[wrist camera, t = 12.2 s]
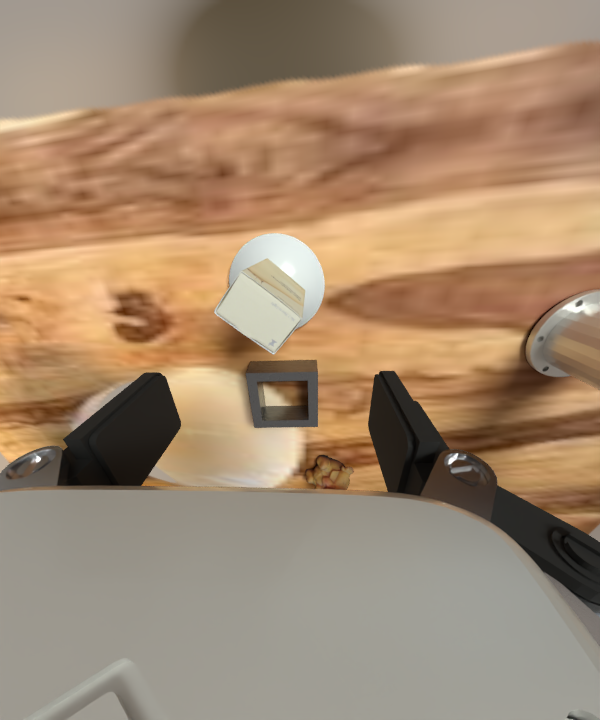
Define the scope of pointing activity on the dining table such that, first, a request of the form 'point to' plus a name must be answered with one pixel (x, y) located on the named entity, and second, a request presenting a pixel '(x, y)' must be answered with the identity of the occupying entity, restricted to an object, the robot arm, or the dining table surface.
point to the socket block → (283, 372)
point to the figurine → (329, 474)
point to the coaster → (285, 266)
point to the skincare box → (263, 305)
